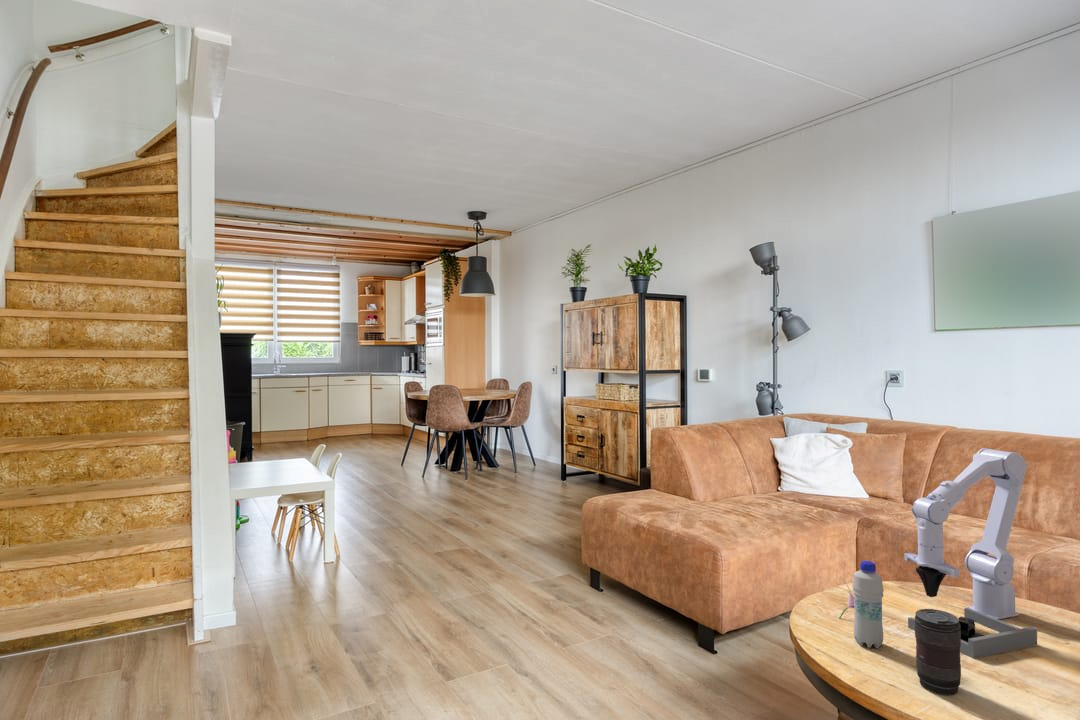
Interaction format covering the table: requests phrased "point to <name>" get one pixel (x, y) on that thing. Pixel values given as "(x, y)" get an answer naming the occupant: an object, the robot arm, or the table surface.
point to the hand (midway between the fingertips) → (931, 595)
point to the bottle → (868, 605)
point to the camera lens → (938, 651)
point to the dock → (993, 636)
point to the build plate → (968, 629)
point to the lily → (851, 601)
